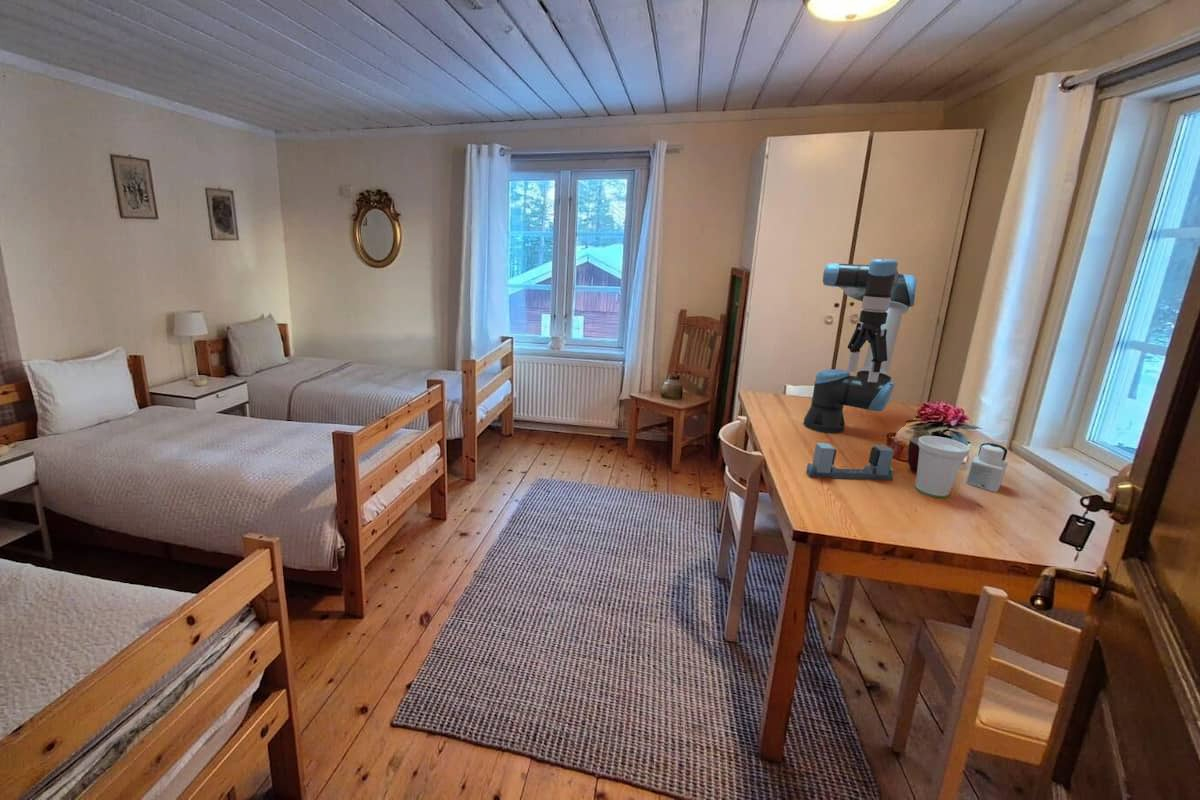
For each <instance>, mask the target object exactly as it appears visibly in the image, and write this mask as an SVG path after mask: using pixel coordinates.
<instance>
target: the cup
mask: <svg viewBox="0 0 1200 800" xmlns="http://www.w3.org/2000/svg"><path fill="white" fill-rule="evenodd" d="M918 438H919V440H918V446H919V458H918V467H917V473H916V479H915V486H914V488H915V489H916V490H917V492H919V493H920V494H923V495H925V496H929V497H932V498H941V499H942V498H947V497H949V495H950V492H951V490H952V487H953V485H954V483H955V481H956V478H957V476H958V474H959V471H960V469H961V467H962V464H963V462H964V460H965V458H966V457H967V456H969V453H970V447H969V446H968V445H966V444H965V443H963V442H961V441H958V440H955V439H952V438H949V437H942V436H936V435H922V436H920V437H918Z"/></svg>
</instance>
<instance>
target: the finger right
mask: <svg viewBox="0 0 1200 800" xmlns="http://www.w3.org/2000/svg"><path fill="white" fill-rule="evenodd" d="M836 454H837V449H836V448H835V447H834V446H833V445H831V444H830V443H821V442H817V443H816V442H815V449H814V454H813V458H812V459H813V460H812V463H811V464H812V465H813V466H814V467H815V470H816V472H821V473H830V471H831V466H832V465H833V466H834V464H835V459H836Z"/></svg>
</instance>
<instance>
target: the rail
mask: <svg viewBox="0 0 1200 800" xmlns="http://www.w3.org/2000/svg"><path fill="white" fill-rule="evenodd" d="M894 452H895V450H893V449H892V448H891V447H889V446H887V445H878V444H877V445H873V446H872V447H871V450H870V455H869V458H868V463H869V465H864V468H863V469H861V468H839V467H836V466H834V465H832V466H831V471H830V473H821V472H816V470H815V467H814V466H813V465H812V464H813V463H810V462H808V463H807V466H806V472H805V474H806V473H807V474H808V475H809V476H808V475H807V474H806V475H807V476H808V477H809V478H816V477H821V479H845V480H846V479H847V480H848V479H849V480H870V481H871V480H872V481H893V478H894V473H895V469H894V468H892V467H891V464H892V460H893V457H894Z"/></svg>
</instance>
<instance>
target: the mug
mask: <svg viewBox="0 0 1200 800" xmlns="http://www.w3.org/2000/svg"><path fill="white" fill-rule="evenodd" d="M919 438H920V437H913V438H911V439H910V440H909V443H908V449H907V463H908V466H909V469H910V471H911V472H912V473H915V474H917V467H918V458H919V446H918V440H919Z"/></svg>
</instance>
